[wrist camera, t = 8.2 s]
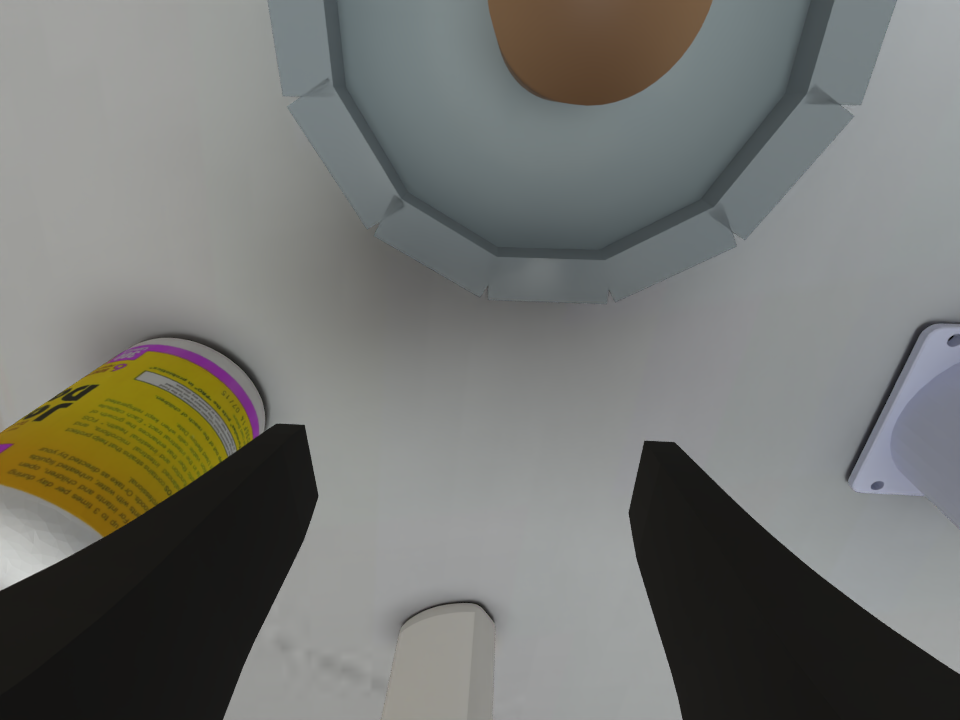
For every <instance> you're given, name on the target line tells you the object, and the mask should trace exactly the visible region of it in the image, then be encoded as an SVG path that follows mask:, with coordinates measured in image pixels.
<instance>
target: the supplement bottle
mask: <svg viewBox="0 0 960 720" xmlns="http://www.w3.org/2000/svg"><path fill="white" fill-rule="evenodd" d="M264 427H265V411H264V406H263V402H262V399H261V397H260V395H259V392H258V391H257V389H256V387H255V386H254V384H253V382H252V381H251V380H250V378H249V377H248V376H247V375H246V374H245V372H244V371H243V370H242V369H241V368H240V367H239V366H238V365H236V364H235V363H234V362H232V361H231V360H230V359H229V358H227V357H226V356H224V355H222V354H221V353H219V352H217V351H215V350H213V349H211V348H209V347H207V346H205V345H202V344H199V343H197V342H193V341H190V340H184V339H178V338H157V339H151V340H147V341H144V342H141V343H138V344H136V345H134V346H132V347H130V348H128V349H127V350H125V351H124V352H122V353H120V354H119V355H117V356H116V357H114V358H113V359H111V360H110V361H108V362H106V363H105V364H103V365H102V366H100V367H99V368H97V369H96V370H94V371H93V372H91V373H90V374H88V375H87V376H85V377H84V378H82V379H81V380H79V381H78V382H76V383H75V384H73V385H72V386H70V387H69V388H67V389H66V390H64V391H63V392H61V393H59V394H58V395H56V396H55V397H54V398H52V399H51V400H49V401H48V402H46V403H44V404H43V405H41V406H40V407H38V408H37V409H35V410H34V411H32V412H31V413H29V414H28V415H26V416H25V417H23V418H22V419H20V420H18V421H17V422H16V423H15V424H13V425H11V426H10V427H8V428H7V429H5V430H4V431H2V432H1V433H0V591H1V590H3V589H5V588H7V587H9V586H11V585H13V584H15V583H17V582H19V581H21V580H23V579H25V578H27V577H29V576H31V575H33V574H35V573H37V572H39V571H41V570H43V569H45V568H47V567H49V566H52V565H54V564H56V563H57V562H59V561H61V560H63V559H65V558H67V557H69V556H71V555H73V554H74V553H76V552H78V551H80V550H82V549H83V548H85V547H87V546H89V545H91V544H92V543H94V542H96V541H98V540H100V539H102V538H103V537H105V536H107V535H109V534H110V533H112V532H114V531H115V530H117V529H119V528H121V527H122V526H124V525H126V524H127V523H129V522H131V521H132V520H134V519H136V518H137V517H139V516H140V515H142V514H143V513H145V512H147V511H148V510H150V509H151V508H153V507H154V506H156V505H157V504H159V503H161V502H162V501H164V500H165V499H167V498H168V497H170V496H171V495H173V494H175V493H176V492H178V491H179V490H181V489H182V488H184V487H185V486H187V485H188V484H190V483H191V482H193V481H194V480H196V479H197V478H199V477H200V476H202V475H203V474H204V473H206V472H207V471H209V470H210V469H212V468H213V467H214V466H216V465H217V464H219V463H220V462H222V461H223V460H225V459H226V458H227V457H229V456H230V455H232V454H233V453H234V452H236V451H237V450H239V449H240V448H242V447H243V446H244V445H246V444H247V443H249V442H250V441H252V440H253V439H254V438H256V437H257V436H259V435H260V434H262V433H263V432H264Z"/></svg>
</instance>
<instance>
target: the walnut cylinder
mask: <svg viewBox="0 0 960 720" xmlns="http://www.w3.org/2000/svg"><path fill="white" fill-rule="evenodd" d="M712 1H713V0H488V7H489V13H490V16H491V20H492V24H493V28H494V31H495V35H496V38H497V42H498V45H499V49H500V52H501V55H502V57H503V60H504V63H505V64H506V66H507V68H508V70H509V72H510V73H511V74H512V76H513V77H514V79H515V80H516V81H517V82H518V83H519V84H520V85H521V86H522V87H523V88H525V89H526V90H527V91H528V92H530V93H532V94H533V95H535V96H537V97H540V98H542V99H545V100H549V101H554V102H561V103H567V104H574V105H585V106H593V105H604V104H609V103H614V102H617V101H620V100H623V99H626V98H629V97H631V96H633V95H635V94H637V93H639V92H641V91H643V90H644V89H646V88H647V87H649V86H650V85H652V84H653V83H655V82H656V81H658V80H659V79H660V78H661V77H662V76H663V75H665V74H666V73H667V72H668V71H669V70H670V69H671V68H672V67H673V66H674V65H675V64H676V63H677V62H678V61H679V60H680V58H681V57H682V56H683V55H684V53H685V52H686V51H687V49H688V48H689V47H690V45H691V44H692V42H693V41H694V39H695V37H696V36H697V34H698V32H699V31H700V29H701V27H702V25H703V23H704V21H705V19H706V16H707V14H708V12H709V10H710V7H711V4H712Z"/></svg>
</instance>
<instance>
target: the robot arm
mask: <svg viewBox="0 0 960 720" xmlns="http://www.w3.org/2000/svg"><path fill="white" fill-rule="evenodd" d="M953 335H954V337H953V338H952V339H951V340H949V341H948V339H949V338H950V337H951V336H953ZM848 484H849V486H850V487H851V488H852V489H853V490H854V491H856V492H859V493H874V494H894V495H914V496H926V497H927V498H928V499H929V500H930V501H931V502H932V503H933V504H934V505H935V506H936V507H937V508H938V509H939V510H940V511H941V512H942V513H943V514H944V515H945V516H946V517H947V518H948V519H949V520H950V521H951V522H952V523H953V524H955V525H956V526H957V527H958V528H959V529H960V324H942V323H940V324H933V325H931V326H929V327H927V328H926V329H925V330H923V331H922V333H921V334H920V336H919V338H918V340H917V342H916V344H915V346H914V348H913V350H912V352H911V354H910V356H909V358H908V360H907V362H906V364H905V366H904V368H903V370H902V372H901V374H900V376H899V378H898V380H897V382H896V384H895V386H894V388H893V390H892V392H891V394H890V396H889V398H888V400H887V402H886V404H885V406H884V408H883V410H882V413H881V415H880V417H879V419H878V421H877V423H876V425H875V427H874V429H873V431H872V433H871V435H870V437H869V439H868V441H867V443H866V445H865V447H864V449H863V451H862V453H861V455H860V457H859V459H858V461H857V463H856V465H855V467H854V469H853V471H852V473H851V475H850V477H849V480H848ZM317 499H318V491H317V486H316V481H315V476H314V471H313V466H312V461H311V455H310V450H309V445H308V440H307V435H306V430H305V425H295V424H276V425H274V426H272V427H271V428H269V429H268V430H266V431H265V432H263V433H262V434H260V435H259V436H257V437H256V438H254V439H253V440H252V441H250V442H249V443H247V444H246V445H244V446H243V447H242V448H240V449H239V450H237V451H236V452H234V453H233V454H232V455H230V456H229V457H227V458H226V459H225V460H223V461H222V462H220V463H219V464H217V465H216V466H214V467H213V468H212V469H210V470H209V471H207V472H206V473H204V474H203V475H202V476H200V477H199V478H197V479H196V480H194V481H193V482H191V483H190V484H188V485H187V486H185V487H184V488H182V489H181V490H179V491H178V492H176V493H175V494H173V495H171V496H170V497H168V498H167V499H165V500H164V501H162V502H161V503H159V504H157V505H156V506H154V507H153V508H151V509H150V510H148V511H147V512H145V513H143V514H142V515H140V516H139V517H137V518H136V519H134V520H132V521H131V522H129V523H127V524H126V525H124V526H122V527H121V528H119V529H117V530H115V531H114V532H112V533H110V534H109V535H107V536H105V537H103V538H102V539H100V540H98V541H96V542H94V543H92V544H91V545H89V546H87V547H85V548H83V549H82V550H80V551H78V552H76V553H74V554H73V555H71V556H69V557H67V558H65V559H63V560H61V561H59V562H57V563H56V564H54V565H52V566H49V567H47V568H45V569H43V570H41V571H39V572H37V573H35V574H33V575H31V576H29V577H27V578H25V579H23V580H21V581H19V582H17V583H15V584H13V585H11V586H9V587H7V588H5V589H3V590H1V591H0V720H223V718H224V715H225V713H226V710H227V707H228V705H229V702H230V700H231V697H232V694H233V692H234V689H235V686H236V684H237V681H238V679H239V676H240V673H241V671H242V668H243V666H244V664H245V661H246V659H247V657H248V655H249V652H250V650H251V648H252V646H253V643H254V641H255V639H256V637H257V635H258V633H259V631H260V629H261V627H262V625H263V623H264V621H265V619H266V617H267V615H268V613H269V611H270V609H271V607H272V605H273V602H274V600H275V598H276V596H277V594H278V592H279V590H280V588H281V586H282V584H283V582H284V580H285V578H286V576H287V574H288V572H289V570H290V568H291V566H292V564H293V562H294V559H295V557H296V555H297V553H298V551H299V549H300V547H301V545H302V543H303V540H304V538H305V535H306V532H307V529H308V527H309V524H310V521H311V518H312V515H313V512H314V509H315V506H316V502H317ZM629 518H630V524H631V530H632V536H633V542H634V547H635V552H636V558H637V562H638V565H639V568H640V572H641V575H642V578H643V582H644V585H645V588H646V592H647V595H648V598H649V602H650V605H651V608H652V611H653V614H654V618H655V621H656V624H657V627H658V631H659V634H660V637H661V640H662V644H663V647H664V650H665V653H666V657H667V660H668V663H669V666H670V670H671V673H672V677H673V681H674V684H675V688H676V692H677V696H678V700H679V704H680V709H681V714H682V719H683V720H960V674H958V673H957V672H955V671H954V670H952V669H951V668H949V667H948V666H946V665H944V664H943V663H941V662H940V661H938V660H937V659H935V658H934V657H933V656H931V655H930V654H928V653H927V652H925V651H924V650H922V649H921V648H919V647H918V646H916V645H915V644H913V643H912V642H910V641H909V640H907V639H906V638H904V637H903V636H901V635H900V634H898V633H897V632H896V631H894V630H893V629H891V628H890V627H888V626H887V625H886V624H884V623H883V622H881V621H880V620H878V619H877V618H876V617H874V616H873V615H871V614H870V613H869V612H867V611H866V610H865V609H863V608H862V607H861V606H859V605H858V604H857V603H855V602H854V601H853V600H851V599H850V598H849V597H847V596H846V595H845V594H843V593H842V592H841V591H839V590H838V589H837V588H835V587H834V586H833V585H832V584H830V583H829V582H828V581H826V580H825V579H824V578H822V577H821V576H820V575H819V574H817V573H816V572H815V571H814V570H812V569H811V568H810V567H809V566H807V565H806V564H805V563H804V562H803V561H801V560H800V559H799V558H798V557H797V556H795V555H794V554H793V553H792V552H791V551H790V550H788V549H787V548H786V547H785V546H784V545H783V544H781V543H780V542H779V541H778V540H777V539H776V538H774V537H773V536H772V535H771V534H770V533H769V532H768V531H766V530H765V529H764V528H763V527H762V526H761V525H760V524H759V523H758V522H756V521H755V520H754V519H753V518H752V517H751V516H750V515H749V514H748V513H747V512H746V511H745V510H743V509H742V508H741V507H740V506H739V505H738V504H737V503H736V502H735V501H734V500H733V499H732V498H731V497H730V496H729V495H728V494H727V493H726V492H725V491H724V490H723V489H722V488H720V487H719V486H718V485H717V484H716V483H715V482H714V481H713V480H712V479H711V478H710V477H709V476H708V475H707V474H706V473H705V472H704V471H703V470H702V469H701V468H700V467H699V466H698V465H697V464H696V463H695V462H694V461H693V460H692V459H691V458H690V457H689V456H688V455H687V454H686V453H685V452H684V451H683V450H682V449H681V448H680V447H679V446H678V445H677V444H676V443H675V442H659V441H644V445H643V450H642V454H641V459H640V463H639V468H638V472H637V477H636V482H635V486H634V491H633V495H632V500H631V504H630V509H629Z"/></svg>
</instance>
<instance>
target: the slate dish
mask: <svg viewBox="0 0 960 720" xmlns="http://www.w3.org/2000/svg"><path fill="white" fill-rule="evenodd" d="M896 2H897V0H713V1H712V4H711V7H710V10H709V12H708V14H707V16H706V19H705V21H704V23H703V25H702V27H701V29H700V31H699V32H698V34H697V36H696V37H695V39H694V41H693V42H692V44H691V45H690V47H689V48H688V49H687V51H686V52H685V53H684V55H683V56H682V57H681V58H680V60H679V61H678V62H677V63H676V64H675V65H674V66H673V67H672V68H671V69H670V70H669V71H668V72H667V73H666V74H665V75H663V76H662V77H661V78H660V79H659V80H658V81H656V82H655V83H653V84H652V85H650V86H649V87H647V88H646V89H644V90H643V91H641V92H639V93H637V94H635V95H633V96H631V97H629V98H626V99H623V100H620V101H617V102H614V103H609V104H604V105H593V106H585V105H574V104H567V103H561V102H554V101H549V100H545V99H542V98H540V97H537V96H535V95H533V94H532V93H530V92H528V91H527V90H526V89H525V88H523V87H522V86H521V85H520V84H519V83H518V82H517V81H516V80H515V79H514V77H513V76H512V74H511V73H510V72H509V70H508V68H507V66H506V64H505V63H504V60H503V57H502V55H501V52H500V49H499V45H498V42H497V38H496V35H495V31H494V28H493V24H492V20H491V16H490V13H489V7H488V0H268V7H269V13H270V19H271V25H272V32H273V38H274V44H275V51H276V57H277V63H278V69H279V76H280V82H281V88H282V95H283V96H300V98H298V99H297V100H296V101H294V102H293V103H291V104H290V105H289V106H287V108H288V109H289V111H290V112H291V114H292V115H293V117H294V119H295V120H296V122H297V123H298V125H299V126H300V128H301V129H302V131H303V132H304V134H305V135H306V137H307V138H308V140H309V141H310V143H311V145H312V146H313V148H314V149H315V151H316V152H317V154H318V155H319V157H320V158H321V160H322V161H323V163H324V164H325V166H326V167H327V169H328V171H329V172H330V174H331V175H332V177H333V178H334V180H335V181H336V183H337V184H338V186H339V187H340V189H341V190H342V192H343V194H344V195H345V197H346V198H347V200H348V201H349V203H350V204H351V206H352V207H353V209H354V210H355V212H356V213H357V215H358V216H359V218H360V220H361V221H362V223H363V224H364V226H365V227H366V229H369V228H371V227H372V226H374V225H376V224H377V223H379V222H380V224H379V226H378V228H377V230H376V232H375V234H374V236H375V237H376V238H378V239H380V240H382V241H383V242H385V243H387V244H389V245H390V246H392V247H394V248H395V249H397V250H399V251H401V252H402V253H404V254H406V255H407V256H409V257H411V258H413V259H414V260H416V261H418V262H419V263H421V264H423V265H425V266H426V267H428V268H430V269H431V270H433V271H435V272H437V273H438V274H440V275H442V276H443V277H445V278H447V279H449V280H450V281H452V282H454V283H456V284H457V285H459V286H461V287H462V288H464V289H466V290H468V291H469V292H471V293H473V294H474V295H476V296H478V297H481V295H482V294H483V292H484V291H485V289H486V288H487V286H488V300H503V301H532V302H561V303H590V304H607V299H608V293H609V291H610V293H611V295H612V297H613V299H614V301H615V302H617V301H619V300H621V299H624V298H626V297H628V296H630V295H632V294H634V293H637V292H639V291H641V290H643V289H645V288H647V287H650V286H652V285H654V284H656V283H658V282H660V281H663V280H665V279H667V278H669V277H671V276H673V275H676V274H678V273H680V272H682V271H684V270H686V269H689V268H691V267H693V266H695V265H697V264H699V263H702V262H704V261H706V260H708V259H710V258H712V257H715V256H717V255H719V254H721V253H723V252H725V251H728V250H730V249H732V248H734V247H736V246H737V245H736V242H735V239H734V236H733V233H734V234H736V235H737V236H739V237H741V238H742V239H744V240H746V238H747V237H748V236H749V235H750V234H751V233H752V232H753V230H754V229H755V228H756V227H757V226H758V225H759V224H760V223H761V221H762V220H763V219H764V218H765V217H766V216H767V215H768V213H769V212H770V211H771V210H772V209H773V208H774V207H775V206H776V204H777V203H778V202H779V201H780V200H781V199H782V198H783V196H784V195H785V194H786V193H787V192H788V191H789V190H790V189H791V187H792V186H793V185H794V184H795V183H796V182H797V181H798V179H799V178H800V177H801V176H802V175H803V174H804V173H805V172H806V170H807V169H808V168H809V167H810V166H811V165H812V164H813V162H814V161H815V160H816V159H817V158H818V157H819V156H820V155H821V153H822V152H823V151H824V150H825V149H826V148H827V147H828V146H829V144H830V143H831V142H832V141H833V140H834V139H835V138H836V136H837V135H838V134H839V133H840V132H841V131H842V130H843V129H844V127H845V126H846V125H847V124H848V123H849V122H850V121H851V119H852V118H853V117H854V116H853V115H852V114H851V113H850V112H849V111H847V110H846V109H845V108H844V107H842V106H841V105H861V103H862V100H863V98H864V95H865V92H866V89H867V86H868V83H869V80H870V77H871V74H872V71H873V68H874V66H875V63H876V60H877V57H878V54H879V51H880V48H881V45H882V42H883V39H884V37H885V34H886V31H887V28H888V25H889V22H890V19H891V16H892V13H893V10H894V7H895V5H896ZM732 232H733V233H732Z"/></svg>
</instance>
